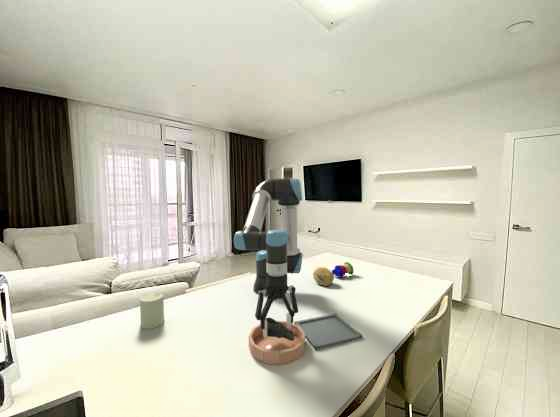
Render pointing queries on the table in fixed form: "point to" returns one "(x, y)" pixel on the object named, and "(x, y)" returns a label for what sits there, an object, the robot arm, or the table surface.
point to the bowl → (277, 346)
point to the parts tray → (327, 331)
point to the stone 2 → (323, 276)
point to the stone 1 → (278, 330)
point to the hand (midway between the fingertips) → (277, 334)
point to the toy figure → (343, 269)
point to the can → (152, 310)
